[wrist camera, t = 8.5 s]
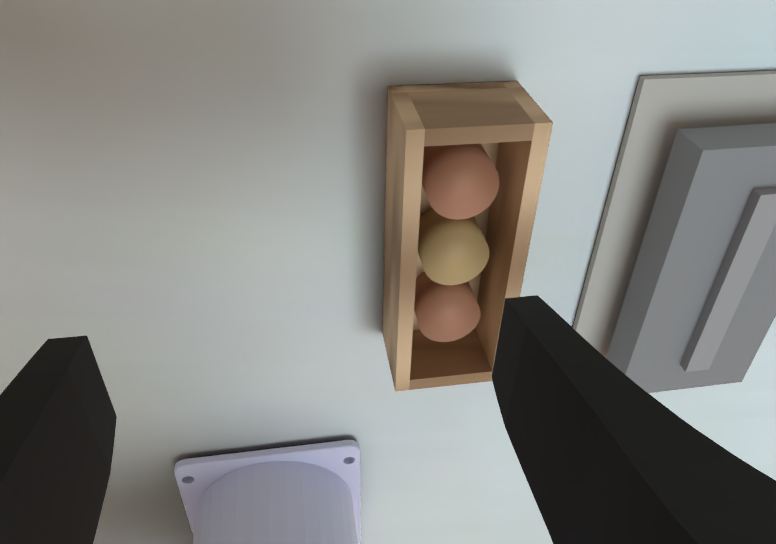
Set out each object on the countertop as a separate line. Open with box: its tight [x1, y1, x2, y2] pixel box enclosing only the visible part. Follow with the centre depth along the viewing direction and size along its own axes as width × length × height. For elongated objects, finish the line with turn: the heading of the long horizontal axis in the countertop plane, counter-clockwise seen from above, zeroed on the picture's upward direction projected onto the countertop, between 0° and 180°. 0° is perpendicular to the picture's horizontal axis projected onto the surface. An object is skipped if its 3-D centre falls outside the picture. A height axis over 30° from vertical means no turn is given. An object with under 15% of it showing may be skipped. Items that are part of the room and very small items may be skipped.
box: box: [383, 81, 553, 391], centre depth 21 cm, size 10×4×3 cm, turn 179°
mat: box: [573, 70, 776, 358], centre depth 25 cm, size 14×8×1 cm, turn 179°
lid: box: [606, 123, 776, 393], centre depth 24 cm, size 11×6×2 cm, turn 179°
